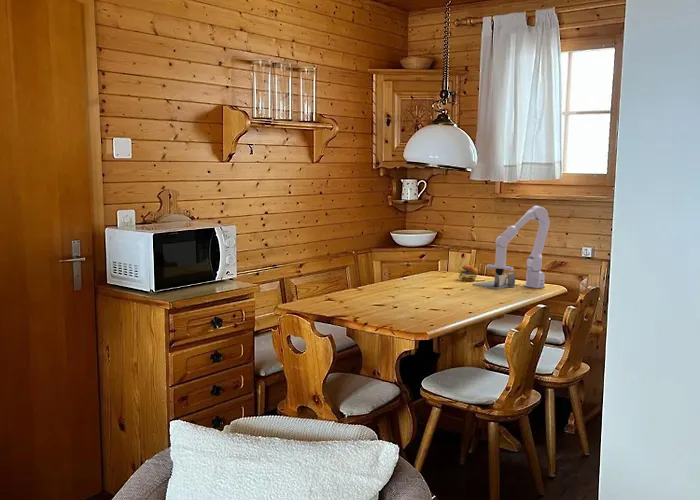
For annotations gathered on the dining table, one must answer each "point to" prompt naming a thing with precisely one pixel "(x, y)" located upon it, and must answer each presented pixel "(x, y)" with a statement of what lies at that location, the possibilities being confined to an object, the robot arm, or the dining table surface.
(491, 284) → the mat
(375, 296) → the dining table surface
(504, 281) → the gate
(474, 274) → the cheeseburger
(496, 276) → the hinge post
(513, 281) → the stile
